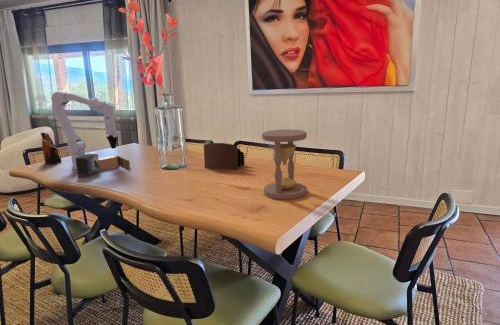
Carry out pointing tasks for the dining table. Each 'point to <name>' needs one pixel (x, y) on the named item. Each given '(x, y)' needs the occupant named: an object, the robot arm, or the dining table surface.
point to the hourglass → (283, 152)
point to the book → (108, 162)
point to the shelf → (123, 162)
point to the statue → (49, 150)
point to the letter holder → (223, 156)
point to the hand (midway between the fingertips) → (113, 148)
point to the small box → (87, 165)
